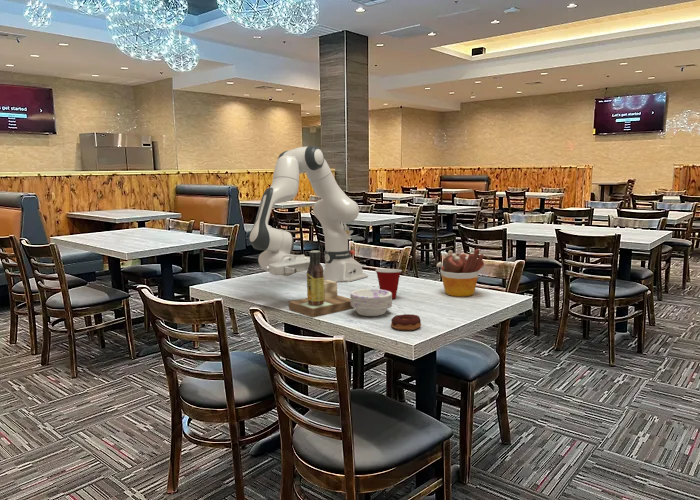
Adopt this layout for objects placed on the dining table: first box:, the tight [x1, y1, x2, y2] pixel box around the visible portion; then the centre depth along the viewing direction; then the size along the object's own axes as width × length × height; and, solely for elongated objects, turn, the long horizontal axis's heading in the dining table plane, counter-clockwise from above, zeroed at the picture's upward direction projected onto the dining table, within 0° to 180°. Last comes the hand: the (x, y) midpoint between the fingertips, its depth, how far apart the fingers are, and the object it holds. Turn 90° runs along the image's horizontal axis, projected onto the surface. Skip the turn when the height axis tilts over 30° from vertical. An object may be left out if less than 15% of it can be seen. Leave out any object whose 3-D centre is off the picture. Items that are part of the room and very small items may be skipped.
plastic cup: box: [374, 268, 403, 300], centre depth 219 cm, size 11×11×12 cm
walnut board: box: [288, 294, 355, 319], centre depth 204 cm, size 20×16×3 cm
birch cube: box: [324, 280, 338, 300], centre depth 210 cm, size 6×6×6 cm
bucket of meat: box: [436, 248, 485, 298], centre depth 222 cm, size 20×16×20 cm
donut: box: [390, 313, 422, 331], centre depth 178 cm, size 10×10×4 cm
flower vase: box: [322, 222, 354, 241], centre depth 287 cm, size 13×18×25 cm
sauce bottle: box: [306, 250, 324, 305], centre depth 198 cm, size 6×6×20 cm
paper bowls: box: [349, 288, 393, 317], centre depth 196 cm, size 15×15×8 cm
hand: (305, 269), depth 203 cm, fingers open, 8 cm apart
